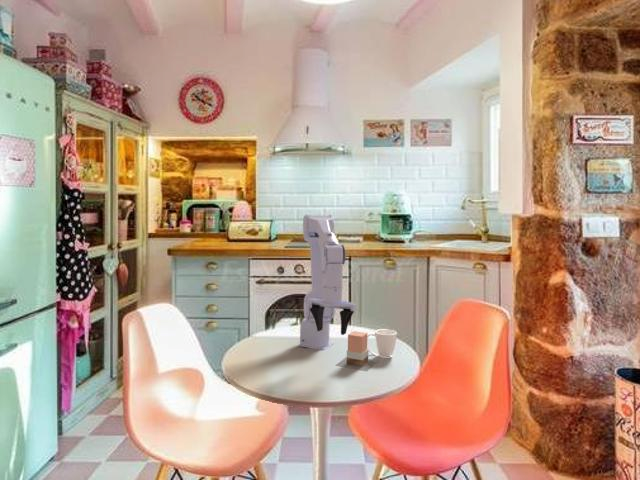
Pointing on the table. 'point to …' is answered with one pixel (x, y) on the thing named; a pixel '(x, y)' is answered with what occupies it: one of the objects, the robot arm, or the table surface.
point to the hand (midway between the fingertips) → (331, 332)
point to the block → (357, 342)
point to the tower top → (357, 355)
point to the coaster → (364, 368)
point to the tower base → (357, 362)
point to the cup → (384, 342)
